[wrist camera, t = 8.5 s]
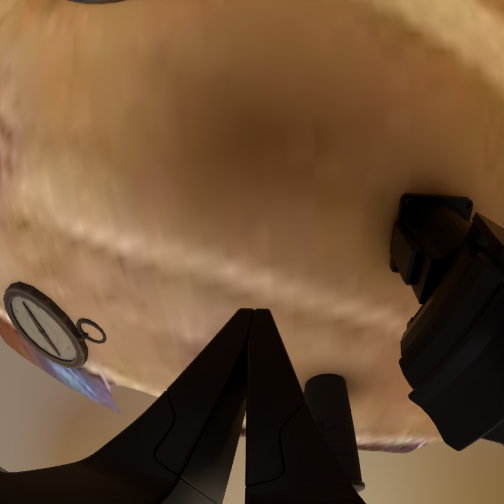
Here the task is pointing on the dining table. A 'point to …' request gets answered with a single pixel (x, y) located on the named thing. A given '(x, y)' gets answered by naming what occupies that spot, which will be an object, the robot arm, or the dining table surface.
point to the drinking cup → (335, 422)
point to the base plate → (96, 1)
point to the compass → (47, 326)
